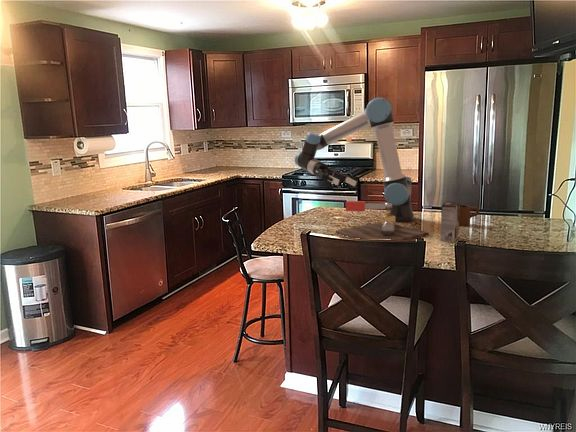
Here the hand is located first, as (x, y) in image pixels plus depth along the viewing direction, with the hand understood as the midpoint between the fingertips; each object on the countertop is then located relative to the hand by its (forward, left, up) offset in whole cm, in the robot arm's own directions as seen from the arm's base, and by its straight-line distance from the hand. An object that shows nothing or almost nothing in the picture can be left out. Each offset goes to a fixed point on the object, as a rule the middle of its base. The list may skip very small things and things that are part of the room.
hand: (347, 183), depth 228 cm
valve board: (-5, +19, -23) cm, 30 cm away
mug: (-51, +31, -23) cm, 64 cm away
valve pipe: (-9, +19, -23) cm, 31 cm away
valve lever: (-3, +13, -12) cm, 18 cm away
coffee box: (-22, +44, -23) cm, 55 cm away
